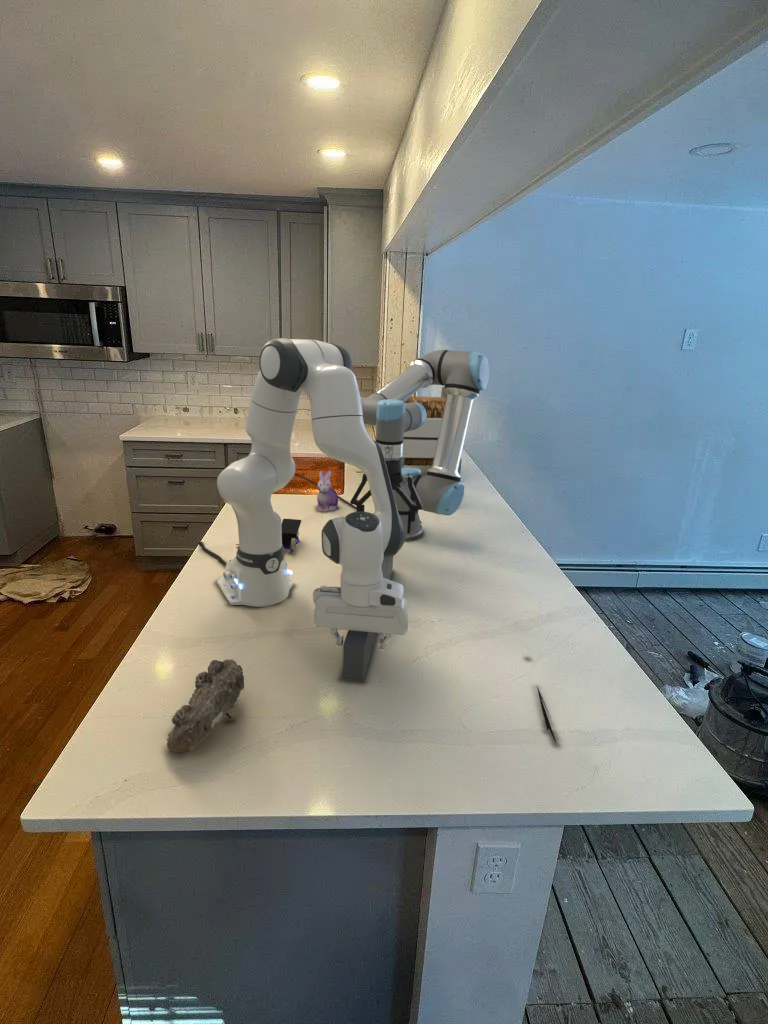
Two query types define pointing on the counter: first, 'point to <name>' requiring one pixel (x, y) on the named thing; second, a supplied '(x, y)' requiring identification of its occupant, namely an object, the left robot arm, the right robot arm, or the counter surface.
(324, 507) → the figurine
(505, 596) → the counter surface
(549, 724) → the feather
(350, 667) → the bar
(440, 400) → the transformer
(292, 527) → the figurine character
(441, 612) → the counter surface
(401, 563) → the counter surface
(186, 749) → the fossil
